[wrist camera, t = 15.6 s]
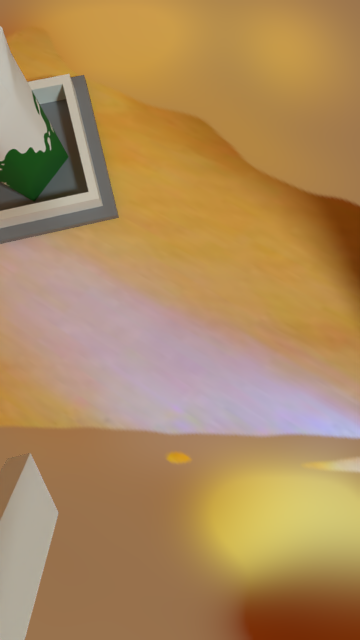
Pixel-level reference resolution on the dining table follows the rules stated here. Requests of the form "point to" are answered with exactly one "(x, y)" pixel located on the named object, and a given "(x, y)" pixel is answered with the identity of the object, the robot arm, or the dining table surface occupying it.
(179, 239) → the dining table surface
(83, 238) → the dining table surface
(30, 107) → the soya milk
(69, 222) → the dock
